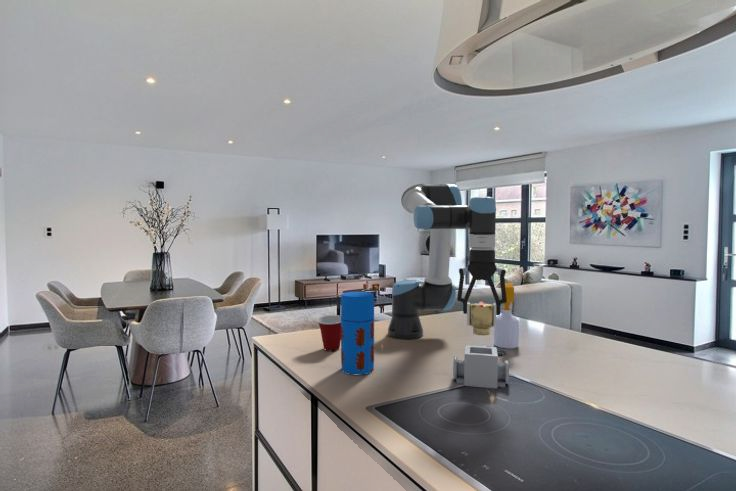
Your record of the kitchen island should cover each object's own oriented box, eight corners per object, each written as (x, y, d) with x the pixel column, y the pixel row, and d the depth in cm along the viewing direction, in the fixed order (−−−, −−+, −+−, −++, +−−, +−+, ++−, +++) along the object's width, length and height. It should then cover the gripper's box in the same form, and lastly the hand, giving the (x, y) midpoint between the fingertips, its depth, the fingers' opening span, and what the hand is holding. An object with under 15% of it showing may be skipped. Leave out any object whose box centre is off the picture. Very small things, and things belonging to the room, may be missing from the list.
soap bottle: (515, 342, 174) (516, 282, 172) (520, 349, 164) (522, 285, 163) (492, 342, 174) (493, 281, 173) (496, 348, 165) (497, 284, 164)
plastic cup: (311, 351, 162) (311, 319, 162) (325, 344, 172) (325, 314, 172) (337, 354, 158) (337, 322, 157) (350, 346, 168) (350, 316, 167)
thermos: (379, 367, 144) (379, 292, 143) (365, 377, 135) (365, 297, 133) (350, 362, 149) (350, 290, 148) (335, 372, 139) (334, 295, 138)
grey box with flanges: (452, 384, 129) (453, 353, 128) (454, 373, 138) (454, 344, 137) (509, 389, 125) (509, 357, 124) (507, 378, 134) (507, 348, 133)
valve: (493, 336, 126) (494, 305, 126) (469, 335, 128) (469, 304, 127) (493, 331, 133) (493, 301, 132) (469, 330, 135) (469, 300, 134)
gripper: (447, 249, 128) (447, 326, 129) (518, 250, 123) (517, 329, 124) (449, 248, 135) (448, 320, 136) (516, 248, 130) (515, 324, 131)
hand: (481, 325), depth 130 cm, fingers closed on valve, 7 cm apart
